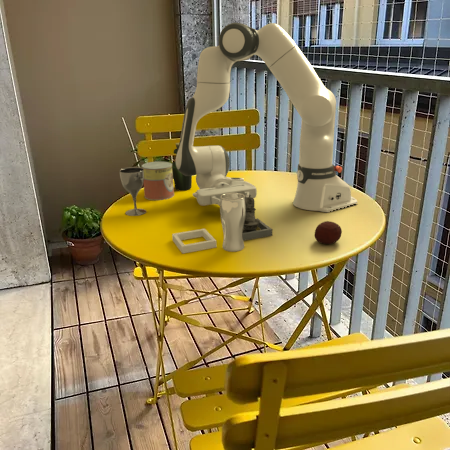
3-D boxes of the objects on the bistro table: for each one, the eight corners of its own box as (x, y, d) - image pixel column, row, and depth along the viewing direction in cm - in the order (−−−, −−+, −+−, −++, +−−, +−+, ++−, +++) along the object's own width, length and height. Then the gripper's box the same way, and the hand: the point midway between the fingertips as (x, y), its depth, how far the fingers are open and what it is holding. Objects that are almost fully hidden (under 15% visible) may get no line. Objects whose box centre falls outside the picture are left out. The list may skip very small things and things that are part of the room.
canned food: (165, 201, 166) (162, 169, 162) (138, 198, 170) (135, 167, 166) (179, 192, 176) (177, 162, 172) (154, 190, 180) (151, 160, 176)
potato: (347, 243, 128) (349, 223, 126) (326, 250, 124) (327, 230, 121) (329, 235, 134) (330, 216, 131) (307, 241, 130) (308, 222, 127)
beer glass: (220, 242, 130) (218, 193, 124) (244, 241, 130) (243, 191, 125) (222, 253, 124) (220, 200, 118) (247, 251, 124) (247, 199, 118)
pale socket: (204, 234, 136) (204, 228, 135) (216, 247, 127) (216, 240, 126) (172, 240, 133) (172, 233, 132) (182, 253, 124) (182, 246, 123)
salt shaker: (259, 228, 139) (260, 191, 135) (259, 236, 134) (259, 197, 129) (240, 228, 140) (240, 191, 135) (239, 236, 134) (238, 197, 130)
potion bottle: (182, 192, 176) (179, 146, 169) (168, 188, 181) (165, 144, 174) (197, 187, 181) (195, 143, 175) (183, 184, 186) (181, 140, 180)
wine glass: (127, 217, 151) (123, 174, 146) (121, 210, 158) (116, 168, 152) (150, 213, 154) (146, 170, 149) (143, 207, 161) (139, 165, 155)
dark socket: (257, 224, 143) (257, 218, 142) (272, 235, 134) (272, 229, 133) (228, 229, 139) (228, 223, 139) (241, 241, 131) (241, 234, 130)
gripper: (190, 184, 151) (204, 195, 139) (246, 177, 158) (263, 187, 146) (191, 202, 154) (204, 215, 142) (246, 194, 160) (263, 205, 148)
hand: (235, 201), depth 144 cm, fingers open, 8 cm apart
